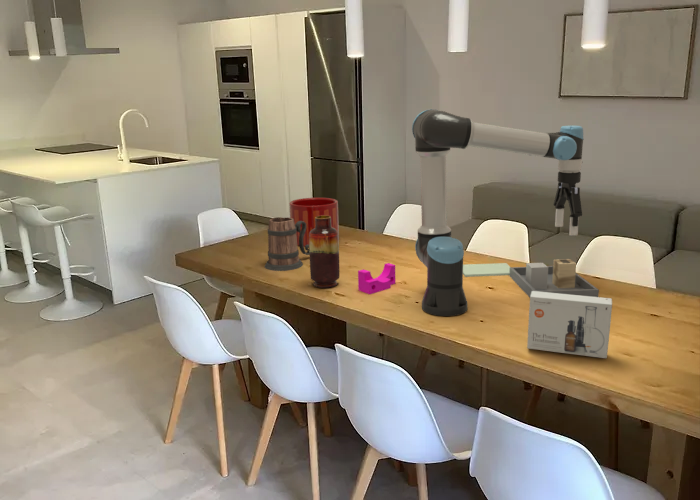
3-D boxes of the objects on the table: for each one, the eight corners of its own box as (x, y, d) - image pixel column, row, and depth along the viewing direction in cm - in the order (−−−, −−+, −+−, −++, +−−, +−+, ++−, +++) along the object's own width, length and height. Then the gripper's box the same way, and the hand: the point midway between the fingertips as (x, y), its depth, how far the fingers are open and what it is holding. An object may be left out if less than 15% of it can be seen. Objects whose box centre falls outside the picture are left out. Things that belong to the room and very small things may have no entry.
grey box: (547, 288, 225) (548, 267, 223) (530, 289, 225) (531, 267, 223) (541, 283, 231) (542, 262, 229) (525, 284, 231) (526, 263, 229)
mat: (516, 275, 244) (516, 272, 243) (465, 277, 243) (465, 274, 243) (506, 265, 257) (506, 263, 257) (457, 267, 256) (457, 264, 256)
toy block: (369, 294, 226) (369, 274, 225) (358, 290, 231) (358, 270, 229) (399, 285, 236) (399, 266, 234) (388, 281, 240) (388, 263, 238)
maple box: (574, 287, 225) (576, 263, 223) (558, 288, 225) (559, 263, 223) (568, 282, 231) (570, 258, 229) (552, 283, 231) (553, 259, 229)
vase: (307, 282, 242) (304, 215, 235) (334, 278, 245) (332, 212, 239) (315, 290, 232) (313, 221, 225) (344, 286, 235) (342, 218, 229)
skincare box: (526, 349, 176) (529, 295, 172) (528, 342, 181) (531, 289, 177) (607, 359, 168) (612, 303, 164) (607, 351, 173) (612, 297, 169)
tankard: (279, 273, 253) (276, 225, 248) (255, 266, 266) (252, 219, 261) (324, 262, 268) (322, 216, 263) (300, 255, 281) (298, 211, 276)
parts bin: (598, 299, 214) (598, 289, 213) (534, 302, 213) (534, 292, 213) (565, 274, 243) (566, 265, 242) (509, 276, 242) (509, 267, 242)
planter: (320, 251, 287) (319, 207, 282) (281, 245, 299) (279, 203, 294) (348, 240, 305) (347, 199, 300) (310, 235, 318) (308, 196, 313)
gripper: (595, 175, 206) (590, 238, 211) (566, 166, 230) (563, 222, 236) (572, 176, 206) (568, 239, 211) (546, 166, 230) (543, 223, 235)
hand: (565, 230), depth 223 cm, fingers open, 13 cm apart
